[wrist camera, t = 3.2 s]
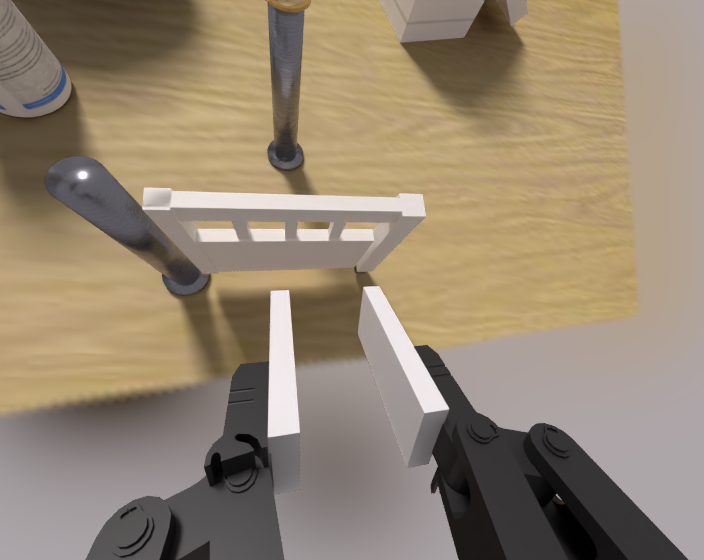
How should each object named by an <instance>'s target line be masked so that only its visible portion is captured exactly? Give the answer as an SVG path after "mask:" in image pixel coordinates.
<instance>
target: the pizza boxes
mask: <svg viewBox="0 0 704 560" xmlns="http://www.w3.org/2000/svg"><path fill="white" fill-rule="evenodd" d="M484 1H485V0H379V2H380V4H381V6H382V8H383V10H384V12H385V14H386V16H387V18H388V20H389V22H390V24H391V26H392V28H393V30H394V32H395V34H396V36H397V38H398V40H399V42H400V43H403V42H415V41H427V40H440V39H452V38H464V37H465V35H466V33H467V32H468V30H469V28H470V26H471V24H472V23H473V21H474V19H475V17H476V15H477V14H478V12H479V10H480V8H481V6H482V5H483V3H484ZM496 2H497V3H498V5H499V7H500V9H501V10H502V12H503V14H504V15H505V17H506V19H507V20H508V22H509V24H510V26H513V25H514V24H515V23H516V22H518V21H519V20H520V19H521V18H522V17H524V16H525V15H526V14H527V13H528V11H527V0H496Z"/></svg>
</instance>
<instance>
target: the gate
mask: <svg viewBox="0 0 704 560" xmlns="http://www.w3.org/2000/svg"><path fill="white" fill-rule="evenodd" d="M142 210H143V211H144V212H145V213H146V214H147V215H148V216H149V217H150V218H151V219H152V220H153V221H154V223H155V224H156V225H157V226H158V227H159V228H160V229H161V230H162V231H163V232H164V233H165V234H166V235H167V236H168V237H169V238H170V239H171V240H172V242H173V243H174V244H175V245H176V246H177V247H178V248H179V249H180V250H181V251H182V252H183V253H184V254H185V255H186V256H187V257H188V258H189V259H190V261H191V262H192V263H193V264H194V265H195V266H196V267H197V268H198V269H199V270H200V271H201V272H202V273H203V274H217V273H218V272H228V271H263V270H298V269H332V268H354V269H355V272H356V273H365V272H370V271H373V270H374V269H375V268H376V267H377V266H378V265H379V264H380V263H381V262H382V261H383V260H384V259H385V258H386V257H387V256H388V255H389V254H390V253H391V252H392V251H393V250H394V248H395V247H396V246H397V245H398V244H399V243H400V242H401V241H402V240H403V239H404V238H405V237H406V236H407V235H408V234H409V233H410V232H411V231H412V230H413V229H414V228H415V227H416V226H417V225H418V224H419V223H420V222H421V221H422V220H423V219H424V218H425V217H426V213H425V208H424V202H423V196H422V194H403V193H399V195H398V196H397V198H388V197H354V196H320V195H286V194H253V193H219V192H185V191H173V190H172V189H171V188H144V196H143V208H142ZM193 221H232V224H233V227H234V229H198V228H197V227H196V225H195V224H194V222H193ZM248 221H253V222H285V229H250V228H249V224H248ZM298 222H331V223H330V226H329V229H297V225H298ZM346 222H371V223H379V224H378V225H377V227H376V228H375V230H374V231H373V229H344V226H345V224H346Z"/></svg>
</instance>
